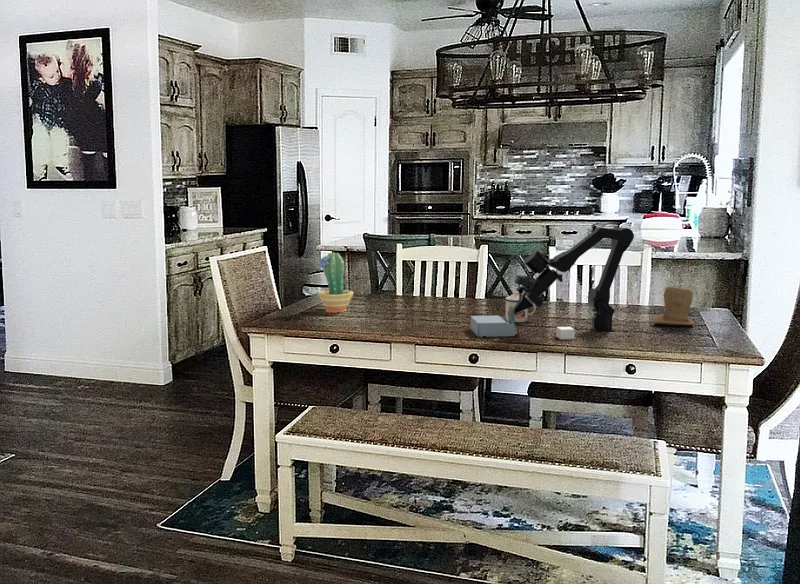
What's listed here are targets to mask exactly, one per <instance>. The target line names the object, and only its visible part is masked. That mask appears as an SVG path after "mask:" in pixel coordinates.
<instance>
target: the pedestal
mask: <svg viewBox="0 0 800 584" xmlns="http://www.w3.org/2000/svg"><path fill="white" fill-rule="evenodd" d="M555 336H556V338H558V339H559V340H574V339H575V328H573V327H572V326H556V335H555Z"/></svg>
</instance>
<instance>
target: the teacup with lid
mask: <svg viewBox="0 0 800 584" xmlns="http://www.w3.org/2000/svg"><path fill="white" fill-rule="evenodd" d="M504 300H505V317H506V322H509V307H512V308H513V309H514V307H515V306H516V304H517V302H518V300H519V292H518V291H514V293H512V294H511V295H510V296H506V297H505V299H504ZM533 305H534V307H533V310H532V311H531V312H528V309H525V310H523V311H520V312H518V313H515V314H514V323H525V322H527V321H528V316H532V315H534V313H535V311H536V307H537V306H536V304H535V303H534V304H533Z"/></svg>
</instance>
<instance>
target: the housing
mask: <svg viewBox="0 0 800 584" xmlns="http://www.w3.org/2000/svg"><path fill="white" fill-rule="evenodd" d="M507 322H508V321H506V316H499V315H471V316H470V330H471V331H472V332H473V333H474V334H475V335H476V337H478V338H479V337H482V338H484V337H483V336H486V337H515V336H516V334H515V328H516V324H515V323H514V324H507ZM486 337H485V338H486Z"/></svg>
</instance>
